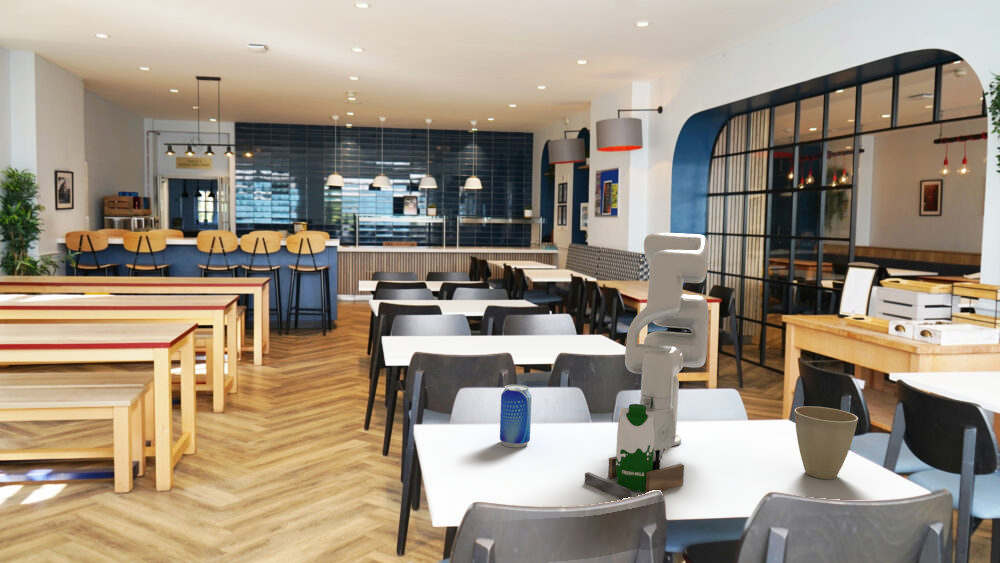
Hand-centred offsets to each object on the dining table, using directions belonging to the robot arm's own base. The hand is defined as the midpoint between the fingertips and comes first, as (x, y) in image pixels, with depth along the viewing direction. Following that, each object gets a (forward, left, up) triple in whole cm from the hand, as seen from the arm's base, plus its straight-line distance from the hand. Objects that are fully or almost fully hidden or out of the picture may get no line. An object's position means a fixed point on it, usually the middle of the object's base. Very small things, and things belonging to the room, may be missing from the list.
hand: (652, 474), depth 187 cm
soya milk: (+1, -7, -1) cm, 7 cm away
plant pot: (+21, +41, -1) cm, 46 cm away
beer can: (-40, -11, -1) cm, 42 cm away
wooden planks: (0, -6, -1) cm, 6 cm away
